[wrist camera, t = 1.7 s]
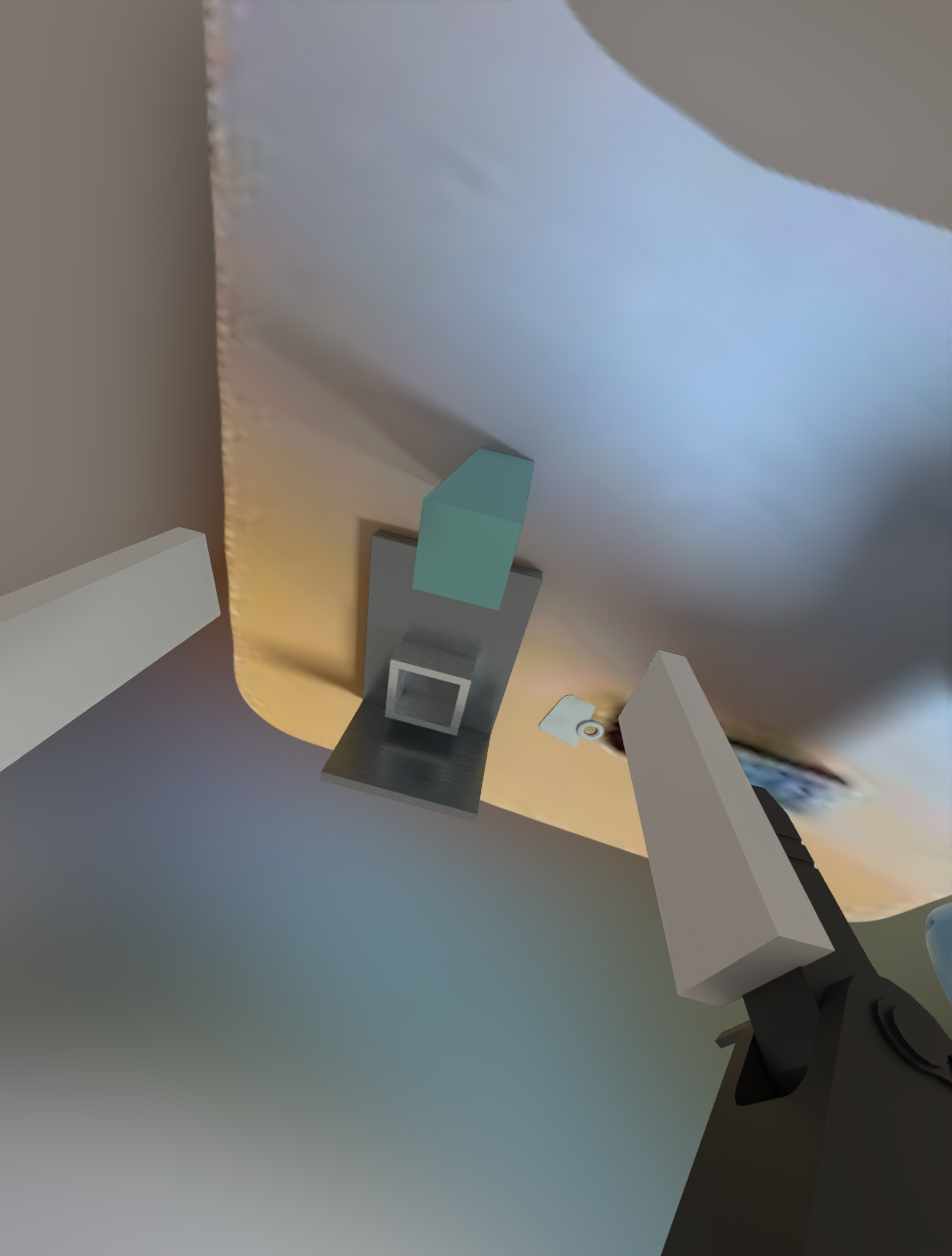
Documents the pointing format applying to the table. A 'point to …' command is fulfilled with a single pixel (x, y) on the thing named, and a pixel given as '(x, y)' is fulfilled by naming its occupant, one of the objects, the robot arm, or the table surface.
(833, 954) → the robot arm
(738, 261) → the table surface
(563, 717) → the mounting bracket
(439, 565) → the teal block
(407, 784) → the cup bracket
